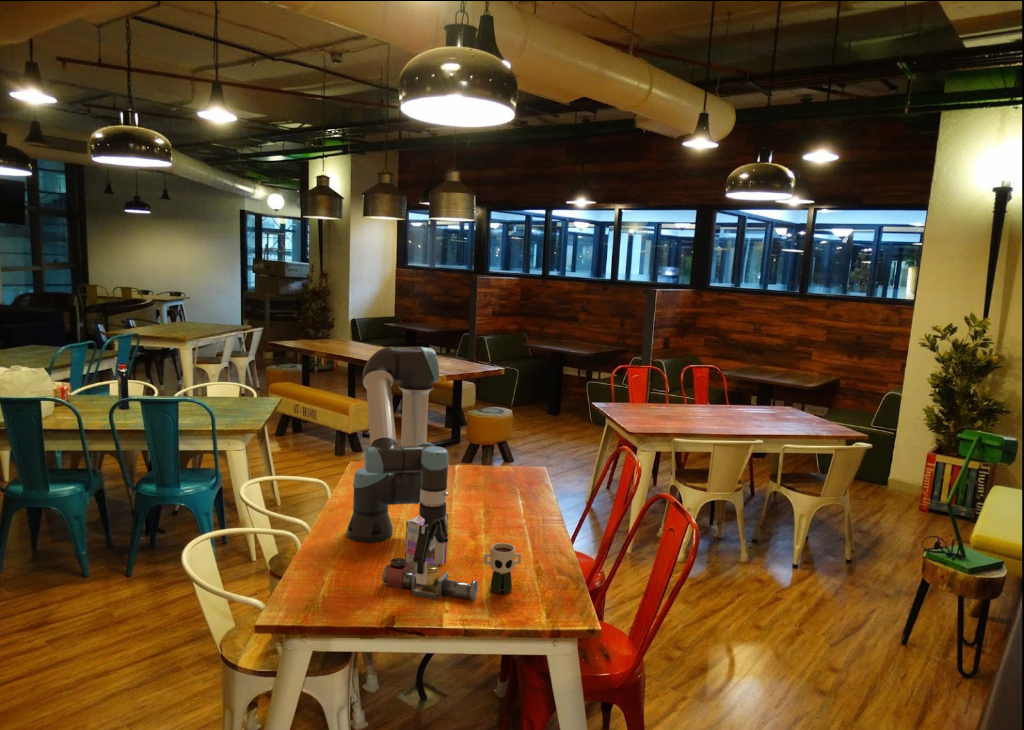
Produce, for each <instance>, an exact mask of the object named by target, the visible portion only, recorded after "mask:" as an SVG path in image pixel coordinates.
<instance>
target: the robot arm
mask: <svg viewBox="0 0 1024 730" xmlns="http://www.w3.org/2000/svg"><path fill="white" fill-rule="evenodd" d="M439 380H440V367H439V360H438V356H437V352H436V350H435V349H434V348H431V347H425V346H386V347H383V348H381V349H378V350H376V351H375V352H374V353H373V354H372V355H371V356H370V357H369V359H368V360H367V362H366V363H365V366H364V368H363V371H362V385H363V386H364V389H366V396H367V412H368V428H369V440H370V441H369V442H370V446H368V447H366V448H365V449H364V455H363V456H364V463H363V465H364V466H363V467H361V468H359V469H357V470H356V471H355V472H354V476H353V482H352V487H353V502H352V503H353V504H352V515H351V517H350V520H349V523H348V525H347V531H346V532H347V533H346V534H347V535H346V536H347V538H348V539H350V540H351V541H353V542H357V543H362V544H363V543H364V544H366V543H367V544H369V543H370V544H371V543H380V542H385V541H387V540H389V539H390V538H392V536H393V534H394V533H393V531H394V530H393V529H394V527H393V524H392V521H391V517H390V515H389V506H392V505H393V506H396V505H413V504H414V505H418V504H419V515H420V516H421V517H422V518H424V520H425V521H424V524H423V526H419V535H418V540H417V544H416V549H415V554H414V559H413V562H415V563H417V569H416V583H417V584H423V585H425V584H426V574H427V561H426V558H427V554H428V551H429V547H430V543H431V540H433V539H434V535H435V538H436V540H437V541H438V542H435V559H434V563H435V564H440V565H439V566H442V565H443V566H444V564H445V562H444V548H445V543H444V542H447V543H448V541H449V538H448V536H449V533H448V526H447V527H446V521H445V516H446V512H447V497H448V496H449V492H448V475H449V473H448V472H449V464H450V463H449V462H450V460H449V452H448V449H446V448H444V447H442V446H438V445H437V446H436V445H435V444H433V443H431V442H427V440H428V438H427V437H428V420H429V419H428V418H429V417H428V416H429V415H428V414H429V397H430V396H429V395H430V392H431V391H433V390H434V384H436V383H438V382H439ZM394 383H398V389H399V390H400V391H402V407H401V408H402V409H401V412H402V413H401V431H400V432H401V433H400V434H401V435H400V438H401V439H400V446H397V444H398V443H397V436H396V435H397V434H396V427H395V415H394V414H395V413H394V406H393V404H394V403H393V396H392V387H393V384H394Z"/></svg>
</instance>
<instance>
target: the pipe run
mask: <svg viewBox="0 0 1024 730" xmlns="http://www.w3.org/2000/svg"><path fill="white" fill-rule="evenodd" d="M409 570H410V563H407V562H406V560H405V558H402V557H395V558H392V559H391V560H390V563H389V564H386V566H385V567H384V569H383V572H382V574H381V580H382V583H383V584H385V587H386V588H391V589H397V590H400V591H401V590H403V589H404V588H411V589H410V590H411V591H410V592H411V593H412V596H413V597H419V598H423V599H428V600H429V599H430V600H437V598H442V597H443V596H444V595H447V596H452V597H456V598H461V599H462V598H463V599H468V600H471V601H475V599H476V598H477V595H478V592H479V582H478V580H475V579H474V580H472V581H471V583H468V582H467V583H466V582H462V581H458V580H457V581H456V580H451V579H449V572H446V571H445V572H444V573H443V574H442V575H441V577H439V580H438V593H433V592H428V591H423V590H421V589H420V588H421V584H417V583H416V572H415V573H414V574H413V573H409Z"/></svg>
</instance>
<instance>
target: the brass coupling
mask: <svg viewBox="0 0 1024 730" xmlns="http://www.w3.org/2000/svg"><path fill="white" fill-rule="evenodd" d="M439 579H440V568H439V566H437V565H434V564H428V565H427V574H426V584H425V585H423V584H421V586H420V590H423V591H428V592H433V593H436V594H438V580H439Z"/></svg>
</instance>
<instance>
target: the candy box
mask: <svg viewBox="0 0 1024 730" xmlns="http://www.w3.org/2000/svg"><path fill="white" fill-rule="evenodd" d="M448 518H449V512H447V511H446V516H445V521H446V527H447V528H448V524H449V523H448V521H449V520H448ZM424 521H425V520H424V518H422V517H421V516H420V514H419V515H417V516H415V517H412V518H410V519H407V520H406V525H405V528H406V529H405V547H404V548H405V550H404V551H405V552H404V553H405V554H404V559H405V560H406V562H407V563H410V570H409V573H413V574H414V573H415V572H416V569H417V563H415V562H413V559H414V554H415V549H416V544H417V540H418V535H419V526H423V524H424ZM435 542H438V541H437V540H436V538H435V535H434V539H433V540H431V543H430V547H429V551H428V554H427V558H426V561H427V565H428V564H434V565H437V566H438V567H439V566H441V565H440V564H435V563H434V559H435ZM444 543H445V548H444V563H446V562H447V549H448V547H447V546H448V545H447V543H448V542H444Z"/></svg>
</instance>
